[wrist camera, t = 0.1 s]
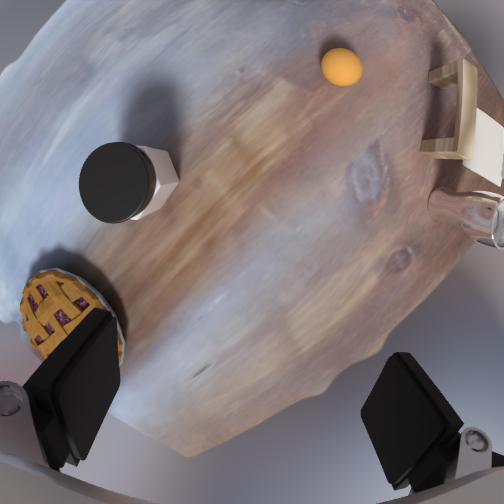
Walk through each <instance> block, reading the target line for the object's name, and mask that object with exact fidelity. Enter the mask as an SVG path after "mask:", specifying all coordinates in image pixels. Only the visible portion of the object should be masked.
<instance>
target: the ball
mask: <svg viewBox="0 0 504 504" xmlns="http://www.w3.org/2000/svg"><path fill="white" fill-rule="evenodd" d="M321 68H322V72H323V74H324V76H325V77H326V78H327V79H328V80H329V81H330V82H332V83H333V84H335V85H339V86H349V85H352V84H354V83H356V82H357V81H358V80H359V79H360V77H361V75H362V71H363V67H362V63H361V60H360V59H359V57H358V56H357V55H356V54H355V53H354V52H352V51H350V50H348V49H345V48H335V49H332V50H330V51H328V52H327V53H326V54H325V55H324V57H323V59H322V62H321Z"/></svg>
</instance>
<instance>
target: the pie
mask: <svg viewBox="0 0 504 504" xmlns="http://www.w3.org/2000/svg"><path fill="white" fill-rule="evenodd" d="M95 307H97V308H100V309H104V310H108V311H111V312H112V315H113V317H116V314H115V312H114V311H113V310H112V308H111V307H110V305H109V304H108V303H107V301H106V300H105V298H104V297H103V295H102V294H101V293H100V292H99V291H97V290H96V289H95V288H94V287H93V286H92V285H90V284H89V283H88V282H87V281H86V280H85V279H84V278H81V277H79V276H77V275H75V274H72V273H70V272H68V271H64V270H62V269H59V268H51V269H44V270H39V271H38V272H37V273H36V274H35V275H34V276H33V277H32V278H31V279H30V280H29V281H28V282H27V284H26V286H25V287H24V290H23V296H22V299H21V303H20V311H21V312H22V317H23V322H22V324H23V328H24V331H26V332H28V333H29V335H30V337H31V344H32V346H33V347H34V348H35V349H39V350H40V352H41V353H42V354H43V356H44V359H46V358H47V357H48V356H49V355H50V353H51V352H52V351H53V350H54V349H55V348H56V347H57V346H58V344H59V343H60V342H61V341H62V340H64V339H65V338H66V337H67V336H68V335H69V334H70V333H71V332H72V330H73V329H74V328H75V327H76V326H77V325H78V324H79V323H80V322H81V321H82V320H83V319H84V317H85V316H86V315H87V314H88V313H89V312H90V311H91V310H92V309H93V308H95ZM116 319H117V317H116ZM117 336H118V355H119V366H120V365H121V364H122V363H123V358H124V349H125V341H124V338H123V335H122V330H121V327H120V325H119V322H118V319H117Z"/></svg>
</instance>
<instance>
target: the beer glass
mask: <svg viewBox="0 0 504 504" xmlns="http://www.w3.org/2000/svg"><path fill="white" fill-rule="evenodd" d="M428 212H429V215H430V217H431V219H432V220H433V221H434V222H435V223H437V224H444V225H451V226H453V227H454V228H456V229H457V230H459V231H460V232H461V233H463V234H464V235H466V236H467V237H469V238H471V239H472V240H474V241H476V242H479V243H481V244H484V245H487V246H490V247H494V248H497V249H499V250H504V196H501V195H498V194H495V193H491V192H487V191H464V192H456V191H453V190H451V189H449V188H446V187H438V188H436V189H435V190H434V191H433V192H432V193H431V195H430V197H429V200H428Z"/></svg>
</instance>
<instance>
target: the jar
mask: <svg viewBox="0 0 504 504" xmlns="http://www.w3.org/2000/svg"><path fill="white" fill-rule="evenodd" d="M178 183H179V179H178V176H177V174H176V171H175V169H174V166H173V164H172V161H171V159H170V156H169V153H168V151H165V150H160V149H156V148H151V147H147V146H138V145H132V144H129V143H124V142H112V143H107V144H104V145H102V146H100V147H98V148H97V149H95V150H94V151H93V152H92V153H91V154H90V155H89V156H88V158H87V159H86V161H85V162H84V164H83V167H82V169H81V172H80V177H79V191H80V196H81V199H82V202H83V204H84V206H85V207H86V209H87V210H88V212H89V213H90V214H91V215H92V216H94V217H95V218H96V219H98V220H100V221H102V222H106V223H121V222H124V221H126V220H129V219H133V220H138V219H140V218H142V217H144V216H146V215H148V214H150V213H152V212H154V211H156V210H158V209H160V208H161V207H162V205H163V204H164V203H165V201H166V200H167V198H168V197H169V196H170V194H171V193H172V191H173V190H174V189H175V187H176V186H177V185H178Z"/></svg>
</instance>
